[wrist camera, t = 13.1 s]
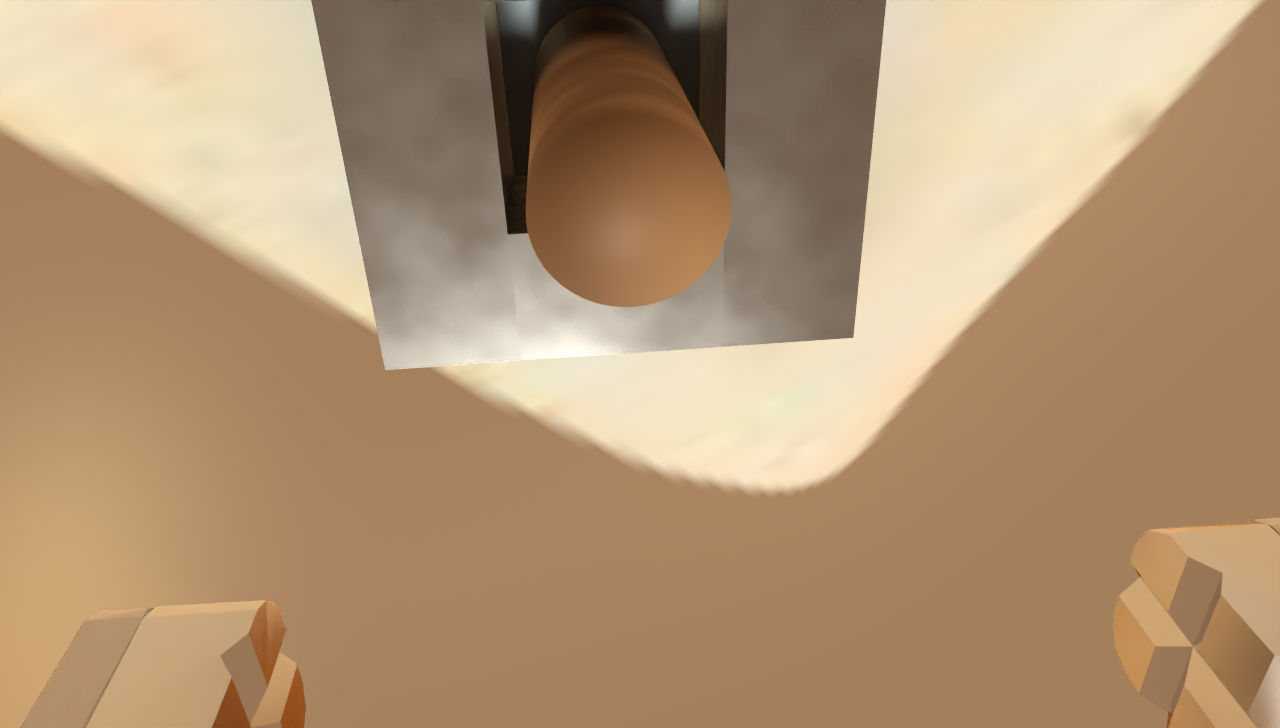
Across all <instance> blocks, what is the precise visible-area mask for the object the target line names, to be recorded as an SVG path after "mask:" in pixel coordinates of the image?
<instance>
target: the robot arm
mask: <svg viewBox="0 0 1280 728" xmlns="http://www.w3.org/2000/svg"><path fill="white" fill-rule="evenodd" d="M1130 562H1131V564H1132V565H1133V567H1134V569H1135V570H1136V572H1137V573H1138V575H1139V577H1140V578H1138V579H1137V580H1136V581H1135V582H1134V583H1133V584H1132V585H1131V586H1129V587H1128V588H1127V589H1126V590H1125V591H1124V592H1123V593H1122V594H1120V595H1119V597H1118V601H1117V605H1116V609H1115V613H1114V617H1113V621H1112V625H1113V633H1114V640H1115V649H1116V652H1117V654H1118V657H1119V659H1120V662H1121V664H1122V667H1123V669H1124V671H1125V673H1126V675H1127V676H1128V678H1129V679H1130V681H1131V683H1132V684H1133V685H1134V687H1135V689H1136V690H1137V692H1138V693H1139V694H1140V695H1142V696H1143V697H1145V698H1146V699H1148V700H1150V701H1151V702H1153V703H1154V704H1156V705H1158V706H1159V707H1161V708H1162V709H1164V710H1166V711H1167V712H1168V718H1167V728H1280V518H1269V519H1258V520H1252V521H1249V522H1244V521H1241V522H1230V523H1218V524H1207V525H1196V526H1186V527H1185V526H1184V527H1173V528H1162V529H1150V530H1147V531H1146V532H1145V533H1144V534H1143V536H1141V537H1140V538H1139V540H1138V541H1137V542H1136V545H1135V548H1134V551H1133V554H1132V557H1131V560H1130ZM285 633H286V627H285V625H284V622H283V620H282V616H281V614H280V611H279V609H278V606H277V604H276V603H273V602H270V601H267V600H263V601H246V602H245V601H244V602H227V603H209V604H191V605H173V606H157V607H156V608H147V609H146V608H145V609H123V610H102V611H99V612H97V613H96V614H94V615H93V616H92V617H90V618H89V619H87V620H86V621H85V622H84V623H83V624H82V626H81V627H80V629H79V631H78V632H77V634H76V636H75V637H74V639H73V641H72V643H71V644H70V646H69V647H68V649H67V651H66V652H65V654H64V656H63V657H62V659H61V661H60V662H59V664H58V666H57V667H56V669H55V671H54V673H53V674H52V676H51V677H50V679H49V681H48V682H47V684H46V686H45V687H44V689H43V691H42V692H41V694H40V696H39V697H38V699H37V701H36V702H35V704H34V706H33V707H32V709H31V711H30V712H29V714H28V716H27V717H26V719H25V720H24V722H23V724H22V726H21V727H20V728H304V724H305V712H306V704H305V696H304V687H303V681H302V678H301V675H300V671H299V668H298V665H297V664H296V663H295V662H293V661H292V660H291V659H289V658H288V657H286V656H285V655H283V654H282V653H280V652H279V651H280V648H281V645H282V642H283V639H284V636H285Z"/></svg>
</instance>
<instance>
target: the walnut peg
mask: <svg viewBox="0 0 1280 728" xmlns="http://www.w3.org/2000/svg"><path fill="white" fill-rule="evenodd" d="M731 210H732V207H731V194H730V188H729V183H728V180H727V177H726V174H725V171H724V169H723V167H722V165H721V163H720V161H719V159H718V157H717V155H716V153H715V151H714V149H713V148H712V146H711V144H710V142H709V140H708V138H707V136H706V134H705V132H704V130H703V128H702V126H701V124H700V122H699V120H698V118H697V116H696V114H695V113H694V111H693V109H692V107H691V105H690V103H689V101H688V99H687V97H686V95H685V93H684V91H683V89H682V87H681V85H680V83H679V81H678V79H677V77H676V76H675V74H674V72H673V70H672V68H671V66H670V64H669V62H668V60H667V58H666V56H665V54H664V52H663V50H662V48H661V46H660V44H659V42H658V40H657V39H656V37H655V35H654V34H653V32H652V31H651V30H650V29H649V27H648V26H647V25H646V24H645V23H644V22H643V21H641V20H640V19H639V18H638V17H636V16H635V15H633V14H631V13H630V12H627V11H625V10H623V9H620V8H617V7H612V6H606V5H595V6H587V7H584V8H580V9H577V10H575V11H572V12H570V13H569V14H567V15H565V16H564V17H562V18H561V19H560V20H559V21H557V22H556V23H555V24H554V25H553V26H552V28H551V29H550V30H549V31H548V33H547V34H546V35H545V37H544V39H543V41H542V43H541V45H540V48H539V50H538V54H537V58H536V65H535V77H534V92H533V107H532V121H531V136H530V151H529V165H528V180H527V195H526V224H527V230H528V235H529V238H530V241H531V244H532V247H533V249H534V251H535V253H536V255H537V257H538V259H539V260H540V262H541V263H542V265H543V266H544V268H545V269H546V270H547V271H548V273H549V274H550V275H551V276H552V277H553V278H554V279H555V280H556V281H557V282H558V283H560V284H561V285H562V286H563V287H565V288H566V289H568V290H569V291H571V292H572V293H574V294H576V295H578V296H580V297H582V298H584V299H586V300H589V301H592V302H594V303H598V304H602V305H607V306H615V307H637V306H645V305H650V304H654V303H658V302H661V301H663V300H666V299H669V298H671V297H673V296H675V295H677V294H679V293H681V292H682V291H684V290H685V289H687V288H688V287H690V286H691V285H692V284H694V283H695V282H696V281H697V280H698V279H699V278H701V277H702V276H703V274H704V273H705V272H706V271H707V270H708V269H709V268H710V267H711V265H712V264H713V262H714V261H715V259H716V258H717V257H718V255H719V253H720V251H721V249H722V247H723V245H724V242H725V239H726V237H727V234H728V230H729V226H730V221H731Z"/></svg>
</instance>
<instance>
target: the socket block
mask: <svg viewBox="0 0 1280 728" xmlns="http://www.w3.org/2000/svg"><path fill="white" fill-rule="evenodd" d="M311 1H312V6H313V11H314V16H315V21H316V26H317V31H318V36H319V41H320V46H321V51H322V56H323V61H324V66H325V71H326V76H327V81H328V86H329V91H330V96H331V101H332V106H333V111H334V116H335V121H336V126H337V131H338V136H339V141H340V146H341V151H342V156H343V161H344V166H345V171H346V176H347V181H348V186H349V191H350V196H351V201H352V206H353V211H354V216H355V221H356V226H357V231H358V236H359V241H360V246H361V251H362V256H363V261H364V266H365V271H366V276H367V281H368V286H369V291H370V296H371V301H372V306H373V311H374V316H375V321H376V326H377V331H378V336H379V340H380V345H381V351H382V355H383V360H384V365H385V369H386V370H392V369H406V368H420V367H435V366H450V365H464V364H479V363H493V362H507V361H522V360H536V359H551V358H565V357H580V356H594V355H609V354H623V353H638V352H652V351H667V350H681V349H696V348H710V347H724V346H739V345H753V344H768V343H782V342H797V341H811V340H826V339H840V338H853V334H854V324H855V314H856V304H857V293H858V283H859V273H860V263H861V252H862V242H863V232H864V222H865V211H866V201H867V191H868V180H869V170H870V160H871V150H872V139H873V129H874V119H875V109H876V98H877V88H878V78H879V68H880V57H881V47H882V37H883V27H884V16H885V6H886V0H699V122H700V124H701V126H702V128H703V130H704V132H705V134H706V136H707V138H708V140H709V142H710V144H711V146H712V148H713V149H714V151H715V153H716V155H717V157H718V159H719V161H720V163H721V165H722V167H723V169H724V171H725V174H726V177H727V180H728V183H729V188H730V194H731V207H732V210H731V221H730V226H729V230H728V234H727V237H726V239H725V242H724V245H723V247H722V249H721V251H720V253H719V255H718V257H717V258H716V259H715V261H714V262H713V264H712V265H711V267H710V268H709V269H708V270H707V271H706V272H705V273H704V274H703V276H702V277H701V278H699V279H698V280H697V281H696V282H695V283H694V284H692V285H691V286H690V287H688V288H687V289H685V290H684V291H682V292H681V293H679V294H677V295H675V296H673V297H671V298H669V299H666V300H663V301H661V302H658V303H654V304H650V305H645V306H637V307H615V306H607V305H602V304H598V303H594V302H592V301H589V300H586V299H584V298H582V297H580V296H578V295H576V294H574V293H572V292H571V291H569V290H568V289H566V288H565V287H563V286H562V285H561V284H560V283H558V282H557V281H556V280H555V279H554V278H553V277H552V276H551V275H550V274H549V273H548V271H547V270H546V269H545V268H544V266H543V265H542V263H541V262H540V260H539V259H538V257H537V255H536V253H535V251H534V249H533V247H532V244H531V241H530V238H529V235H528V230H527V224H526V195H527V180H528V175H517V176H514V170H513V161H512V151H511V142H510V132H509V123H508V113H507V104H506V94H505V84H504V75H503V65H502V56H501V46H500V37H499V27H498V18H497V8H496V2H502V1H523V0H311Z"/></svg>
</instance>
